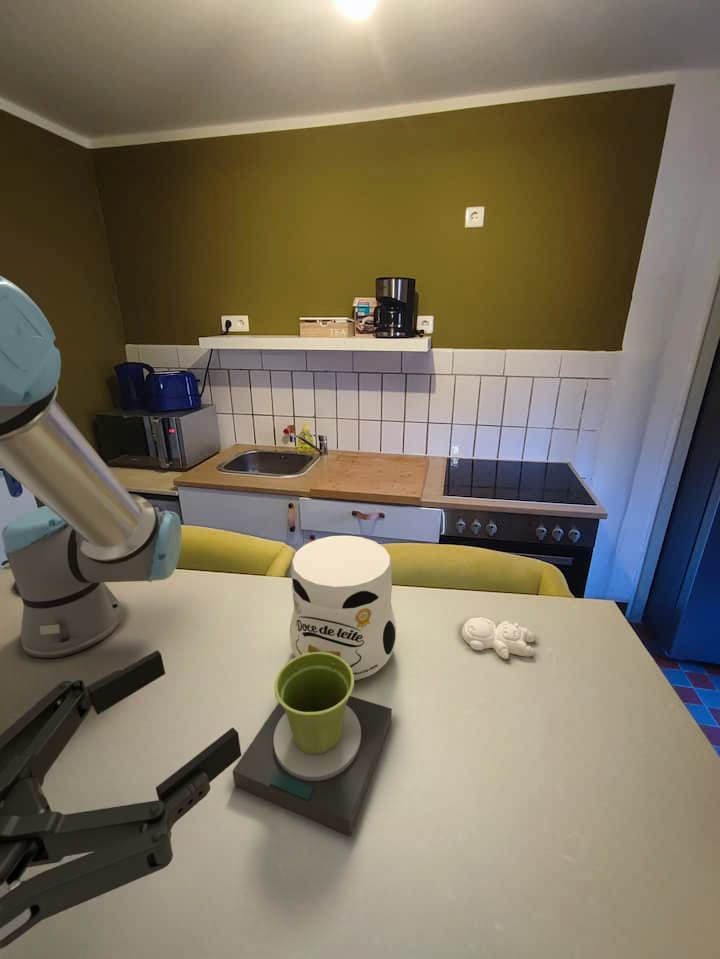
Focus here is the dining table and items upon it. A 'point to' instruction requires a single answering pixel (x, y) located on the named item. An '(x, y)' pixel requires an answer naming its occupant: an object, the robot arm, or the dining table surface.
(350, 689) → the plant pot
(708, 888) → the dining table surface
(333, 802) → the scale
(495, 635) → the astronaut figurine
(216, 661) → the dining table surface
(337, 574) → the milk container
